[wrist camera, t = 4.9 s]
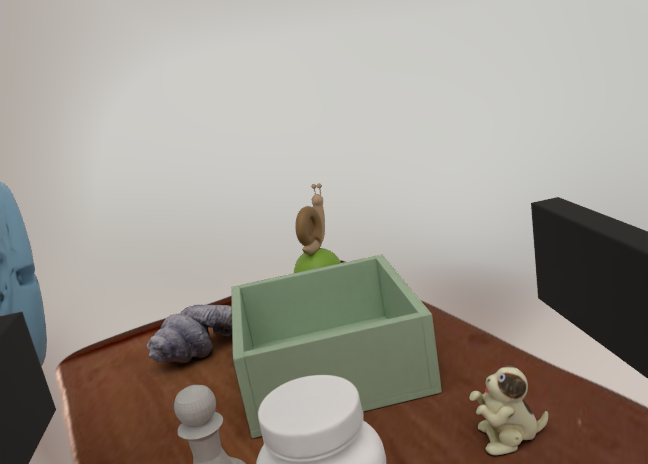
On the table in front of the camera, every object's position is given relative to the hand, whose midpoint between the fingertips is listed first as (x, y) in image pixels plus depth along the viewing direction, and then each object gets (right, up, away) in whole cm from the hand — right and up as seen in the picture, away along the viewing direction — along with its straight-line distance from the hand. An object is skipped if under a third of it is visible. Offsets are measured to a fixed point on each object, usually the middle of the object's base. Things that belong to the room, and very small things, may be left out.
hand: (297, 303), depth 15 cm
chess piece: (-6, -15, +23) cm, 29 cm away
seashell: (-11, -10, +43) cm, 46 cm away
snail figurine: (+1, -5, +53) cm, 53 cm away
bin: (+1, -10, +36) cm, 38 cm away
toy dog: (+13, -12, +24) cm, 30 cm away
